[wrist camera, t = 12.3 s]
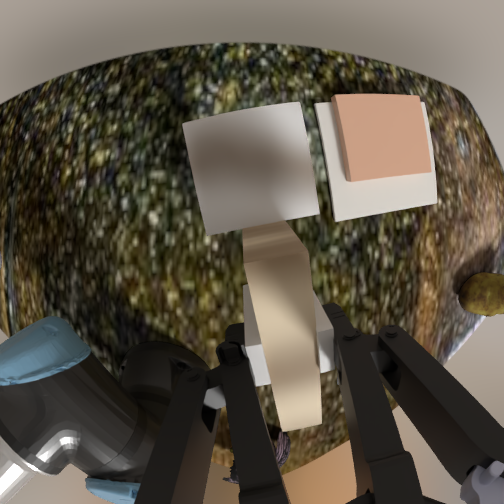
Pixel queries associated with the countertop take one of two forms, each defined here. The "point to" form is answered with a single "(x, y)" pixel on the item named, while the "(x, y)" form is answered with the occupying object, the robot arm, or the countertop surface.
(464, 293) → the potato
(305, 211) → the scraper
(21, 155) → the countertop surface
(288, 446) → the decorative flower
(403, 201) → the mat
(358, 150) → the tile
